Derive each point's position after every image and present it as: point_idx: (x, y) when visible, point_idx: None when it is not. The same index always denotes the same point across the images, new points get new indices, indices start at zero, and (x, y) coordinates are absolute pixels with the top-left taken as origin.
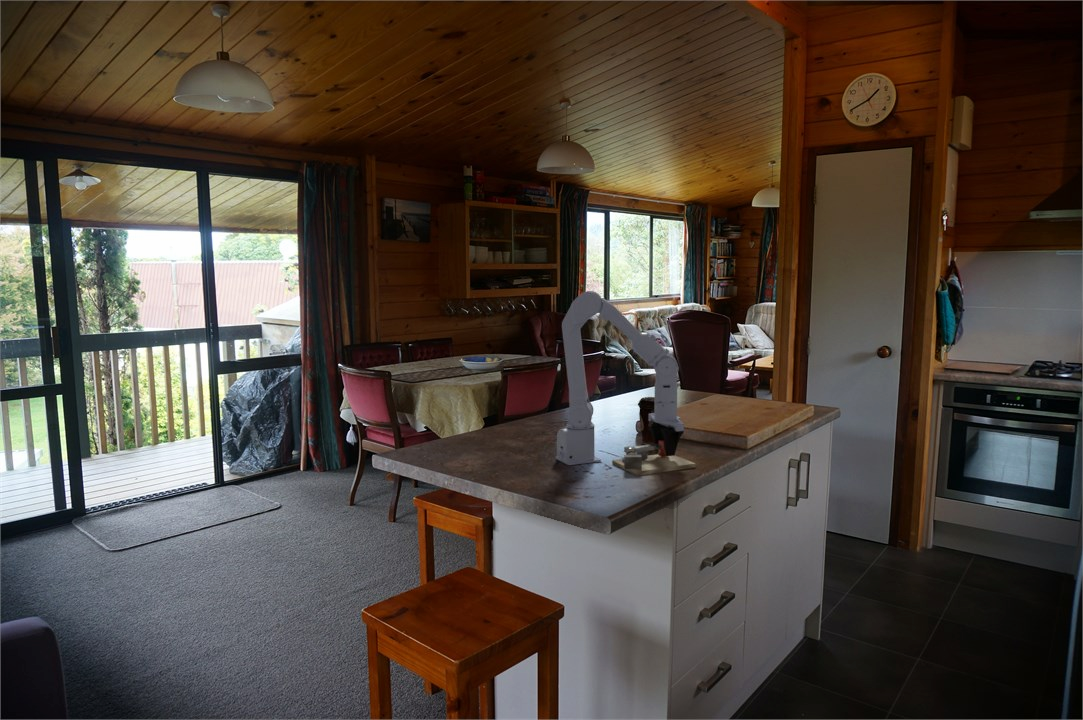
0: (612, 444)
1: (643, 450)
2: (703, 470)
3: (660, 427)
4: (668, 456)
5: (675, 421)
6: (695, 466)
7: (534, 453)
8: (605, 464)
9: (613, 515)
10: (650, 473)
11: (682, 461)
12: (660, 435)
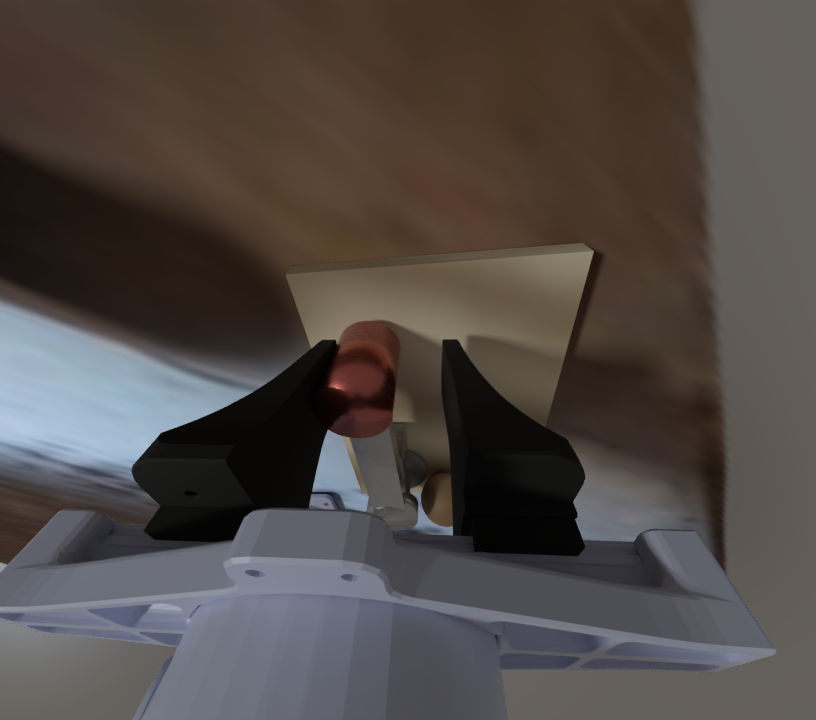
0: (36, 387)
1: (402, 473)
2: (666, 232)
3: (282, 497)
4: (369, 315)
5: (592, 654)
6: (585, 245)
7: None
8: (361, 491)
9: None
10: None
11: (505, 300)
12: (304, 435)
